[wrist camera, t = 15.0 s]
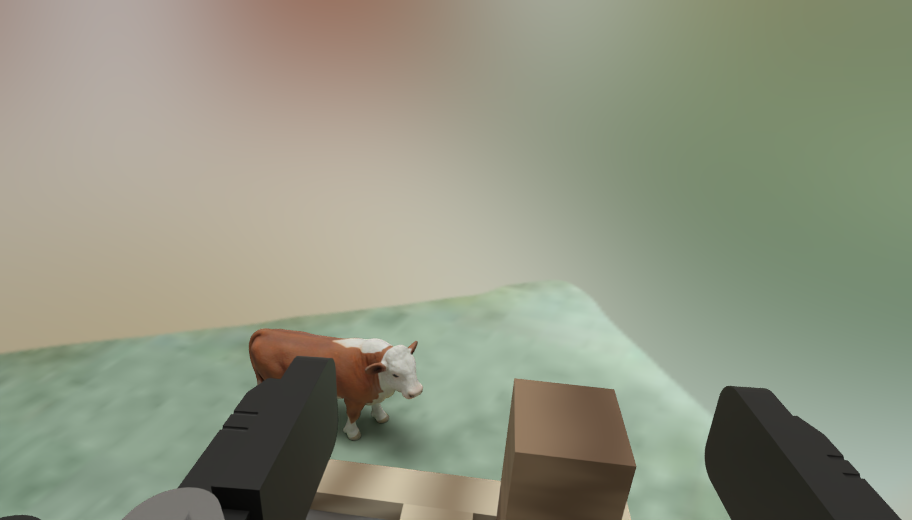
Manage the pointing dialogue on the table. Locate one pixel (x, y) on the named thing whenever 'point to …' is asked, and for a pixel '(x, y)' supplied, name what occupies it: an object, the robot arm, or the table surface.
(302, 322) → the table surface
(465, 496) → the puzzle board
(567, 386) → the walnut block
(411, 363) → the bull figurine
